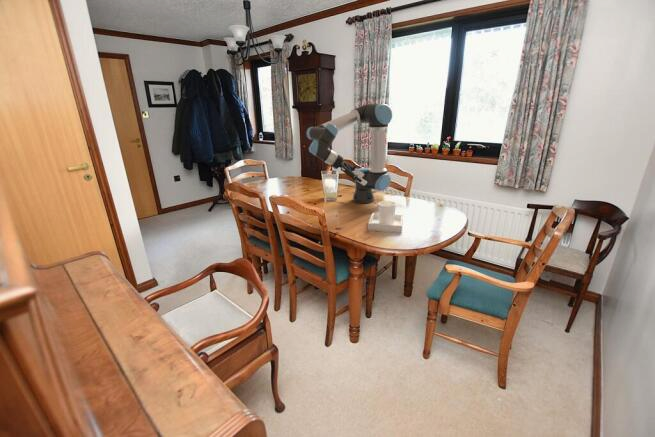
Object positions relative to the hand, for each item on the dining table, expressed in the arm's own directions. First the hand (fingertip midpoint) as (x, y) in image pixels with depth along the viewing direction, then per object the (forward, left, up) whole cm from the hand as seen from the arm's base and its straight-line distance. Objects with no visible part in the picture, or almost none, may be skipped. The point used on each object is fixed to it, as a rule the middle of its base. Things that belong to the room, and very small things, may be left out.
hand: (364, 179), depth 179 cm
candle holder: (+10, +14, -23) cm, 29 cm away
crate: (+10, +14, -24) cm, 29 cm away
